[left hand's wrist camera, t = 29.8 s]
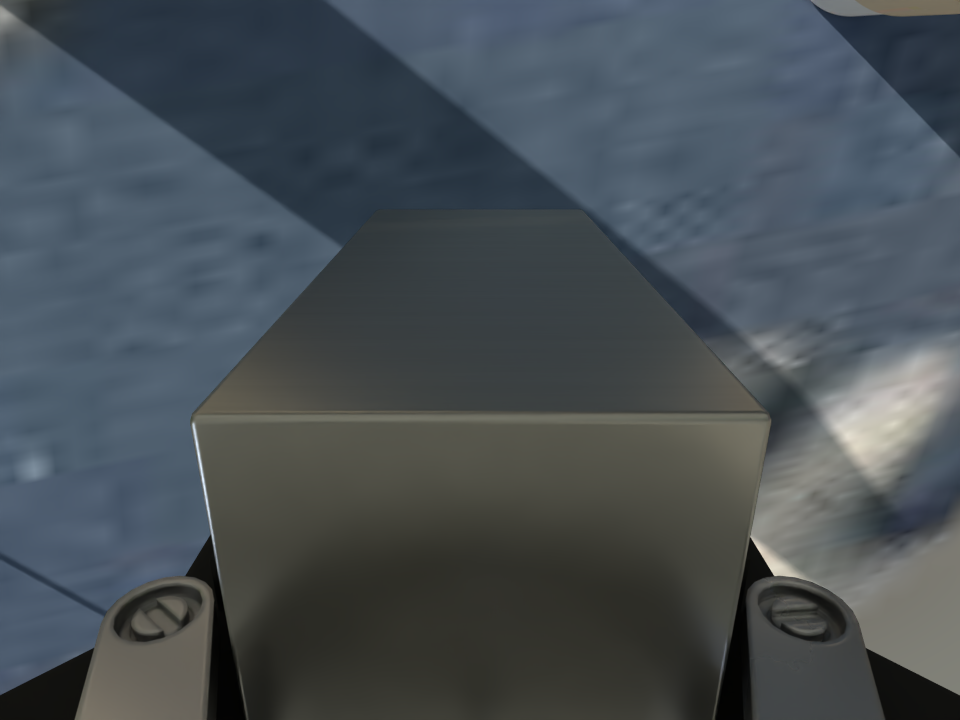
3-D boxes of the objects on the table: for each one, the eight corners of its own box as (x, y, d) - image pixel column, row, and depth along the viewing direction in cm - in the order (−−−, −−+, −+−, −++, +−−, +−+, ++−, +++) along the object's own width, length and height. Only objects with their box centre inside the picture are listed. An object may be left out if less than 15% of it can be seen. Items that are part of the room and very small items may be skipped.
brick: (391, 483, 20) (285, 956, 9) (375, 209, 17) (184, 415, 6) (567, 483, 20) (675, 955, 9) (583, 208, 17) (777, 414, 6)
